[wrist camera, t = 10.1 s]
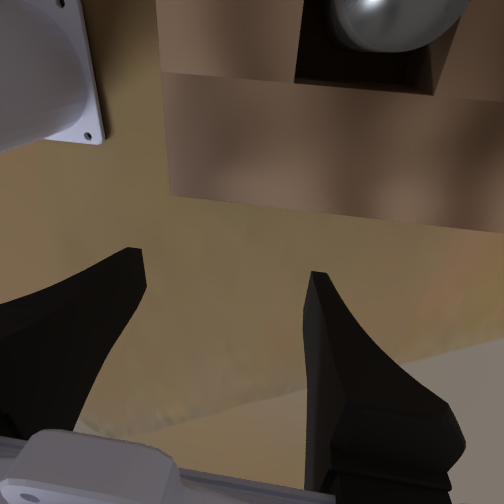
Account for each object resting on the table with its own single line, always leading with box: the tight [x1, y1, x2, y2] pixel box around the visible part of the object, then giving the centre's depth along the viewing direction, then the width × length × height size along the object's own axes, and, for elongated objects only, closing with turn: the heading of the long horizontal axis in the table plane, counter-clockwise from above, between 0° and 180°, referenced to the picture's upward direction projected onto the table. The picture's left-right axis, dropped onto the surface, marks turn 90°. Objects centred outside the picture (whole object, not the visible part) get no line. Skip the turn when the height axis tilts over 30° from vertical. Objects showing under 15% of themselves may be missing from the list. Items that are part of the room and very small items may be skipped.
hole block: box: [155, 0, 504, 233], centre depth 14 cm, size 18×18×5 cm
